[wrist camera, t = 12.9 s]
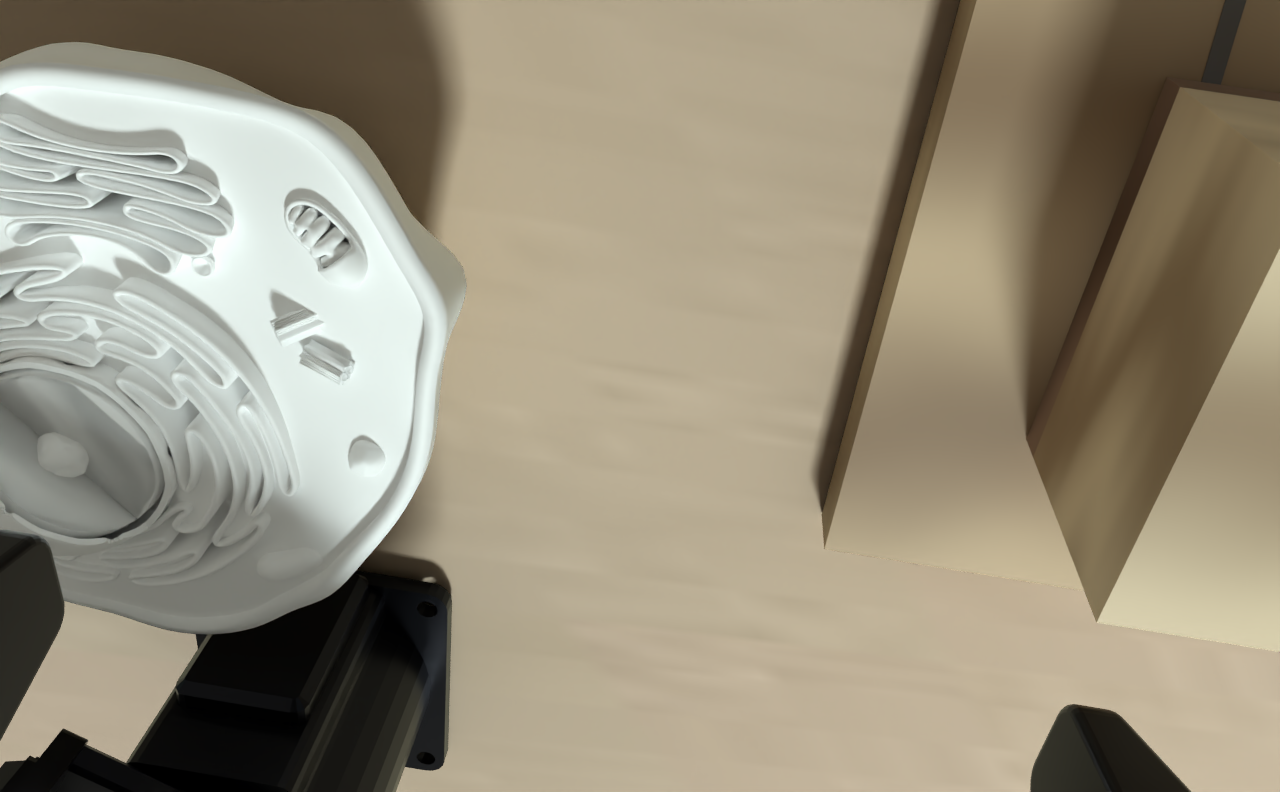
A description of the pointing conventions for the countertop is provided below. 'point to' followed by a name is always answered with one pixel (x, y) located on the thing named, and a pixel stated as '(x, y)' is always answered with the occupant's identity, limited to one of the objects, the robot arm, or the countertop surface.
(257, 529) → the cell model
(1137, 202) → the block
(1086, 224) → the board
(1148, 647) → the countertop surface
